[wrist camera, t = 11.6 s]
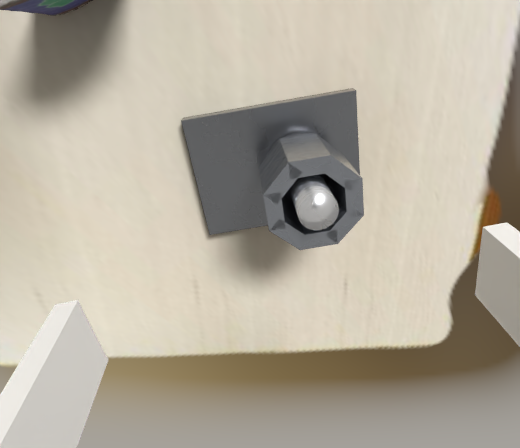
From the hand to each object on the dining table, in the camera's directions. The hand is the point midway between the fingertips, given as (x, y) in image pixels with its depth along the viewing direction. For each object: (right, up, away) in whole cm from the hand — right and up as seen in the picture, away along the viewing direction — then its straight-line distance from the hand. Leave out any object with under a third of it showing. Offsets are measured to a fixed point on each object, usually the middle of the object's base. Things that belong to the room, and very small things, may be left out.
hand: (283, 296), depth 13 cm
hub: (+3, +7, +23) cm, 24 cm away
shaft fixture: (+1, +8, +26) cm, 28 cm away
